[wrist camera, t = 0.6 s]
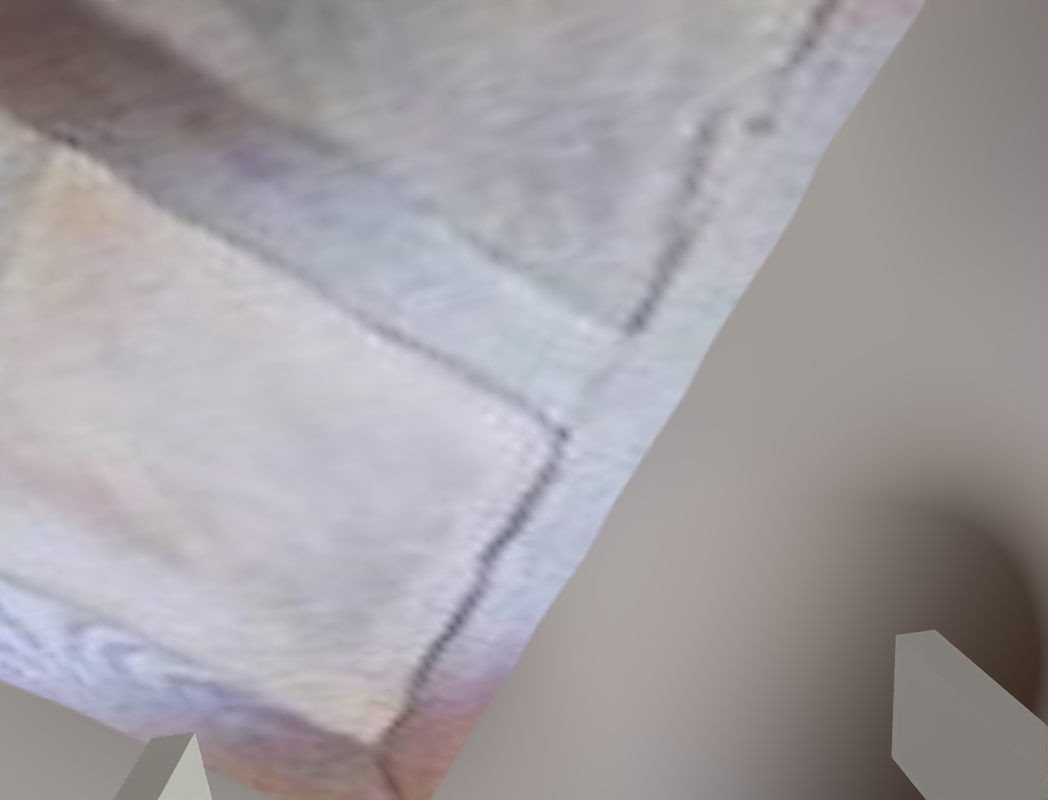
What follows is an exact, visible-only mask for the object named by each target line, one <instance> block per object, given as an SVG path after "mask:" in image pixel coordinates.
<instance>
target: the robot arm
mask: <svg viewBox="0 0 1048 800" xmlns="http://www.w3.org/2000/svg"><path fill="white" fill-rule="evenodd" d="M895 652H896V653H895V679H894V708H893V735H892V758H893V759H894V760H895V762H896V763H897V764H898V765H899V766H900V768H901V769H902V770H903V771H904V773H905V774H906V775H907V776H908V778H909V779H910V780H911V781H912V783H913V784H914V785H915V786H916V788H917V789H918V790H919V791H920V793H921V794H922V795H923V796H924V797H925V799H926V800H1048V726H1046V725H1045V724H1044V723H1043V722H1042V721H1041V720H1039V719H1038V718H1037V717H1036V716H1035V715H1034V714H1032V713H1031V712H1030V711H1029V710H1028V709H1026V708H1025V707H1024V706H1023V705H1022V704H1021V703H1020V702H1018V701H1017V700H1016V699H1015V698H1013V697H1012V696H1011V695H1010V694H1009V693H1008V692H1006V690H1004V689H1003V688H1002V687H1001V686H1000V685H998V684H997V683H996V682H995V681H994V680H993V679H991V678H990V677H989V676H988V675H987V674H985V672H983V671H982V670H981V669H980V668H979V667H977V666H976V665H975V664H974V663H973V662H972V661H970V660H969V659H968V658H967V657H966V656H965V655H963V654H962V653H961V652H960V651H959V650H958V649H956V648H955V647H954V646H953V645H952V644H951V643H949V642H948V641H947V640H946V639H945V638H944V637H942V636H941V635H940V634H939V633H937V631H935V630H931V631H924V632H917V633H910V634H902V635H896V651H895ZM113 800H212V798H211V794H210V790H209V786H208V783H207V778H206V775H205V770H204V767H203V763H202V759H201V755H200V751H199V747H198V743H197V739H196V735H195V732H194V733H187V734H180V735H173V736H166V737H158V738H151V740H150V742H149V743H148V745H147V746H146V748H145V750H144V751H143V753H142V754H141V756H140V758H139V759H138V761H137V762H136V764H135V766H134V767H133V769H132V771H131V772H130V774H129V775H128V777H127V778H126V780H125V782H124V784H123V785H122V786H121V788H120V790H119V791H118V793H117V795H116V796H115V798H114V799H113Z"/></svg>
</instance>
